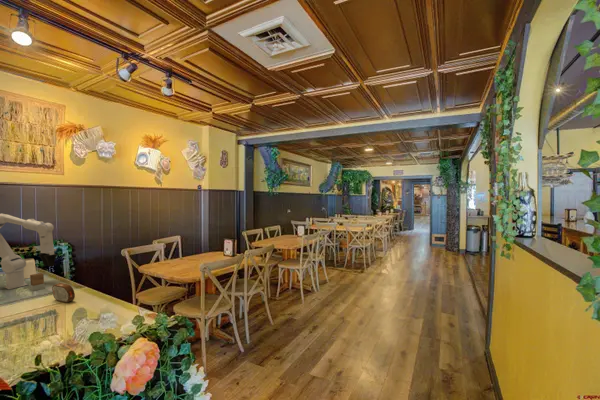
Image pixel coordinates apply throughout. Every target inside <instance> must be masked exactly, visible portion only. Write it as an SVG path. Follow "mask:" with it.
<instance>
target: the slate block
mask: <svg viewBox="0 0 600 400" xmlns="http://www.w3.org/2000/svg"><path fill="white" fill-rule="evenodd" d="M45 288H46V286H45V283H44V284H40V285H35V286H33V285H31V284H30V290H31V291H32V292H35V291H38V290H39V291H40V290H43V289H45Z"/></svg>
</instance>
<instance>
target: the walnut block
mask: <svg viewBox="0 0 600 400" xmlns="http://www.w3.org/2000/svg"><path fill="white" fill-rule="evenodd" d="M29 279H30V286H31V285H33V286H35V285H40V284H44V285H45V277H44V273H42V272H39V273H38V272H37V273H36V274H33V275H30V278H29Z"/></svg>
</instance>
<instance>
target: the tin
mask: <svg viewBox="0 0 600 400" xmlns="http://www.w3.org/2000/svg"><path fill="white" fill-rule="evenodd" d="M51 292H52V297H53V298H54V300H56V301H58V302H61V303H69V302H73V301H74V300H75V298H76V297H75V296H76V294H75V293H76V292H75V290H74V288H73V286H72V285H71V284H68V283H62V282H59V283H56V284H53V285H52V287H51Z"/></svg>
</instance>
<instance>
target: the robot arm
mask: <svg viewBox="0 0 600 400" xmlns="http://www.w3.org/2000/svg"><path fill="white" fill-rule="evenodd" d="M6 223H9V224H15V225H19V226H22V227H23V228H24V229H27V230H30V231H35V232H37V234H38V236H39V245H40V254H39V253H38V257H39V258H40V259H41V261H42V264H43V266H48V268H50V267H54V265H55V261H56V259H57V256H58V253H55V252H56V251H57V249H56V248H55V247H54V239H53V231H54V230H55V226H54V224H53V223H51V222H44V221H41V220H40V221H38V220H35V218H28V219H23V218H19V217H17V216H13V215H11V214H5V213H0V229H2V228H3V227H4V226H5V224H6ZM0 258H1V261H0V265H1V271H2V272H3V273H5V282H6V285H5V286H3V287H4V288H5V289H7V290H13V289H17V288H21V287H25V286H28V283H26V282H25V280H26V279H24V267H25V266H26V261H25V260H24V259H25V258H22V257H21V256H20V254H19V255H18V254H16V253H15V252H14V251H13V249H12V248H11V246H10V245H9V243H8V242H7V240H6V239H5V238H4V236H3V234H2V233H1V232H0Z"/></svg>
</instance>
